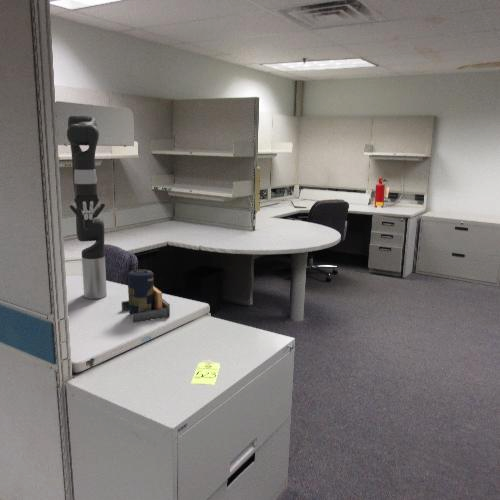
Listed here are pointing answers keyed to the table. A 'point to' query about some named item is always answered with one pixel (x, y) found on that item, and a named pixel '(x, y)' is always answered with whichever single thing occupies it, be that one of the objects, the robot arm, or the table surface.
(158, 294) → the plate
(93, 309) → the table surface
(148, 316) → the tray
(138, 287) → the canister
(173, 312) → the table surface
